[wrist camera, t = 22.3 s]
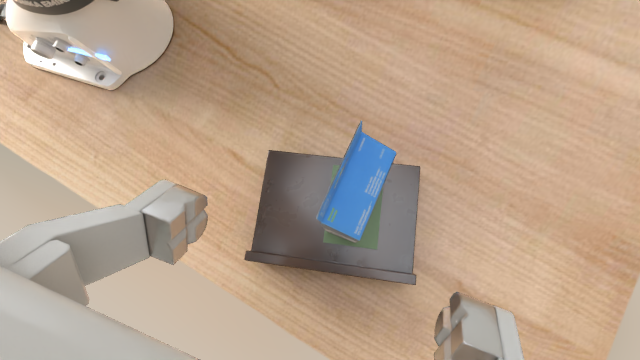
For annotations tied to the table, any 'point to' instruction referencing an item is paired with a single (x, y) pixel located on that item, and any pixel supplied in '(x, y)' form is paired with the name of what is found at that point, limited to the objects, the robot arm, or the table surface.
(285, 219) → the desk shelf
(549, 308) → the table surface
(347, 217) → the blue cardboard box
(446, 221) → the table surface
